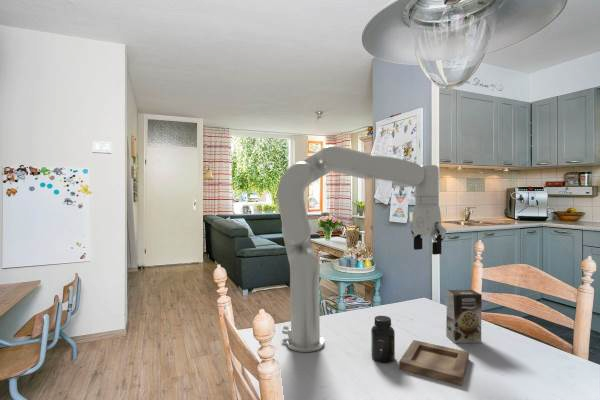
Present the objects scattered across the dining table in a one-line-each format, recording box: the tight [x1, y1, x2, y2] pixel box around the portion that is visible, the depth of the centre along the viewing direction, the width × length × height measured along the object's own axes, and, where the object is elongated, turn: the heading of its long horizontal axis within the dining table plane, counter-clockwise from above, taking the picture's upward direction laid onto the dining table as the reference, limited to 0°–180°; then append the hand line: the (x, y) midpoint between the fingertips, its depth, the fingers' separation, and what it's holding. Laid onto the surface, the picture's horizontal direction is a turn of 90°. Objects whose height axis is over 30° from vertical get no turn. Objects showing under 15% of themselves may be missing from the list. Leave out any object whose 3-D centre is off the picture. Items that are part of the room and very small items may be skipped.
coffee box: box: [445, 289, 483, 344], centre depth 113 cm, size 9×6×16 cm
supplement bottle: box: [370, 315, 396, 364], centre depth 102 cm, size 7×7×12 cm
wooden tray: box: [398, 339, 470, 387], centre depth 98 cm, size 16×16×2 cm
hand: (427, 251), depth 115 cm, fingers open, 9 cm apart
